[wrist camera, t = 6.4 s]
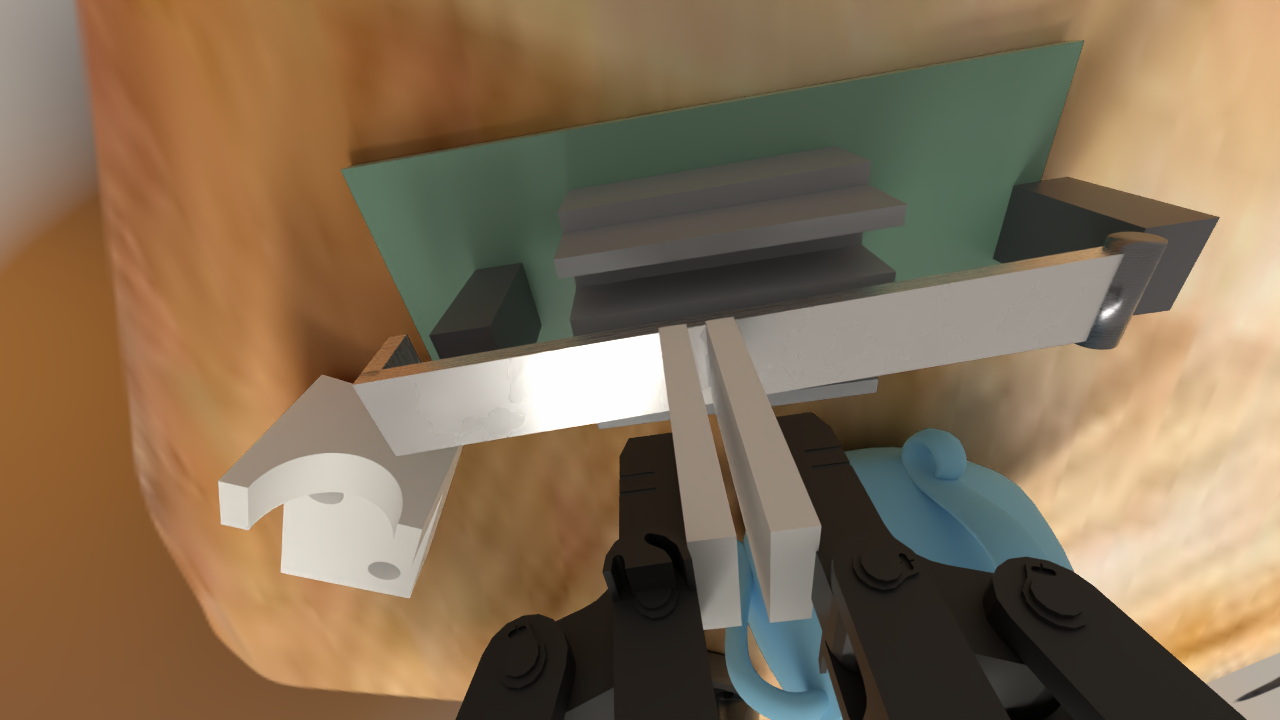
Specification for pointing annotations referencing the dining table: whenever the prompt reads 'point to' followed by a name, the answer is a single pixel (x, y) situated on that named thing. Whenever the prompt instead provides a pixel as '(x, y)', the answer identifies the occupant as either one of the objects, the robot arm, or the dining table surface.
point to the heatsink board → (750, 207)
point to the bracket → (341, 493)
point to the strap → (764, 346)
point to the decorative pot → (916, 516)
